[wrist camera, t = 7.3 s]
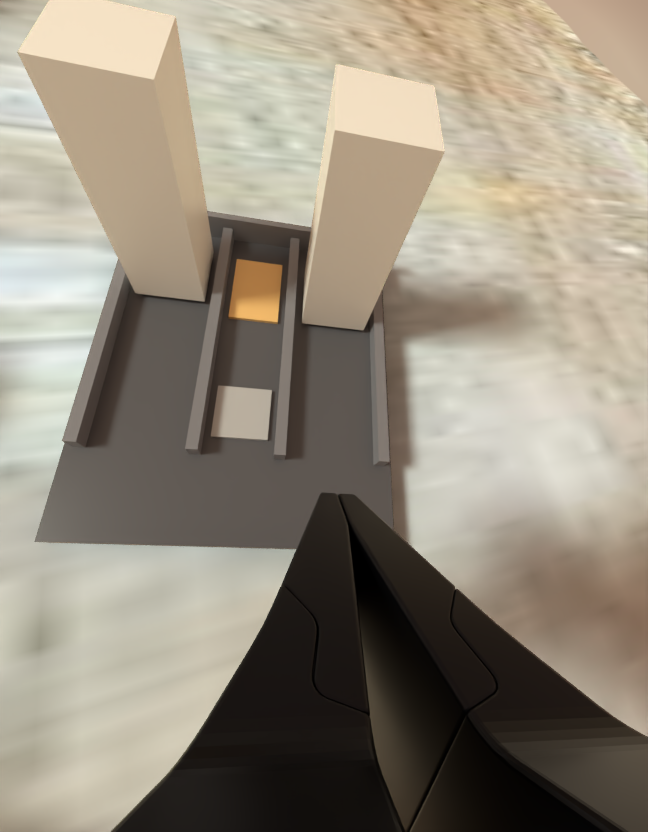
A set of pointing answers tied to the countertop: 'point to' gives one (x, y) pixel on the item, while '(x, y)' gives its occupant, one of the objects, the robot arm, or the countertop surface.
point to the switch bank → (222, 408)
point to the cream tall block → (367, 191)
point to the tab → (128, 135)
